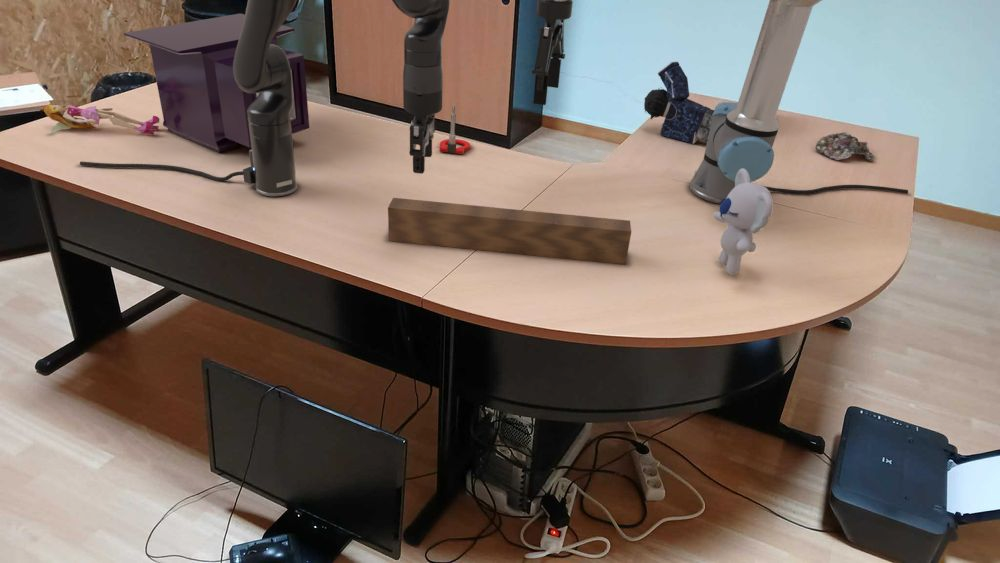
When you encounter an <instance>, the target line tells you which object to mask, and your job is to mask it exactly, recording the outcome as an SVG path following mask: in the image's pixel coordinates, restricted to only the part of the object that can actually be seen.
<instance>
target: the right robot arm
mask: <svg viewBox="0 0 1000 563" xmlns="http://www.w3.org/2000/svg"><path fill="white" fill-rule="evenodd" d="M822 1H823V0H769V1H768V4H767V8H766V11H765V13H764V18H763V22H762V24H761V27H760V31H759V33H758V36H757V40H756V43H755V46H754V49H753V53H752V56H751V60H750V62H749V66H748V68H747V72H746V75H745V79H744V82H743V86H742V89H741V92H740V94H739V98H738V101H736V102H735V101H734V102H733V101H724V102H719V103H718V104H716V105H715V106H714V109H713V110H714V113H713V114H712V116H713V118H712V123H711V127H710V132H709V136H708V141H707V142H706V145H705V150H704V154H703V159H702V161H701V163H700V165H699V166H698V168H697V169H696V170H695V171H694V172H693V176H692V179H691V181H690V184H689V189H690V191H691V193H693V194H694V196H696V197H698V198H700V199H702V200H704V201H707V202H710V203H713V204H717V205H721V204H720V203H719V202H721V201H722V200H723V199H724V198H725V197H726V198H727V196H728V195H729V193H730V192H731V191H732V189H733V188H735V178H736V175H737V172H738V171H739V170H740V169H742V168H743V169H745V170H746V171H747V172H748V174H749V177H750V182H751V183H754V182H756V181H757V180H759V179H761V178H763V177H765V176H766V175H767V174H768V172H770V170H771V168H772V166H773V164H774V159H775V158H774V157H775V155H774V154H775V153H774V149H773V146H774V143H775V140H776V137H777V135H778V133H779V132H778V131H779V129H780V124H779V123H778V121H777V119H776V115H777V112H778V110H779V106H780V104H781V101H782V98H783V95H784V92H785V89H786V86H787V83H788V81H789V78H790V75H791V72H792V70H793V67H794V63H795V60H796V58H797V54H798V51H799V50H800V49H799V48H800V45H801V43H802V39H803V37H804V33H805V31H806V28H807V25H808V22H809V19H810V17H811V13H812V10H813V7H814V6H815V5H817V4H819V3H820V2H822ZM573 2H574V1H573V0H537V4H536V15H537V16H538V17H540V18H543V19H544V20H545V22H544V25H541V27H540V32H539V33H540V34H539V41H538V47H537V52H536V56H535V62H534V69H532V70H531V74H532V75H535V78H534V79H535V80H534V92H533V101H532V103H533V104H535V105H536V104H537V105H542V106H546V105H547V96H548V88H554V89H558V88H559V83H560V74H561V66H562V65H561V64H562V60H565V58H566V54H565V53H564V52H565V49H564V48H565V20H569V19H570V18H571V17H572V12H573ZM763 186H764V187H766V188H767V189H768V190H769V192H773V193H783V194H784V193H785V194H794V195H810V194H811V195H812V194H817V193H821V192H825V191H834V190H843V189H844V190H845V189H863V190H875V191H885V192H891V193H892V192H894V193H900V194H908V193H909V189H904V188H898V187H887V186H879V185H869V184H868V185H867V184H838V185H829V186H824V187H823V186H822V187H818V188H813V189H787V188H781V187H780V188H779V187H772V186H766V185H763ZM726 198H725V199H726ZM725 199H724V200H725Z"/></svg>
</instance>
